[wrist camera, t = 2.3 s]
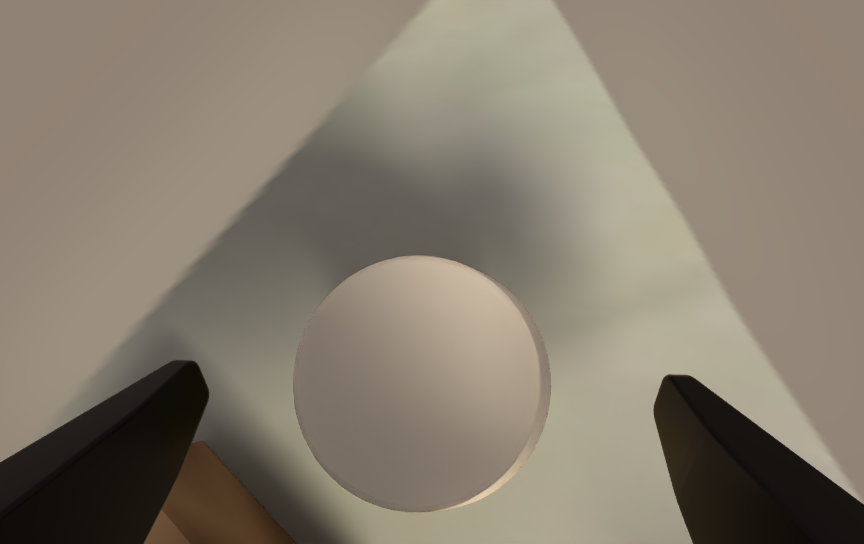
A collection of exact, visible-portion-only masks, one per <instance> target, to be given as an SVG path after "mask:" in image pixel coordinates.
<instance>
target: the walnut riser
mask: <svg viewBox="0 0 864 544" xmlns="http://www.w3.org/2000/svg"><path fill="white" fill-rule="evenodd" d="M144 544H296V543H295V542H294V541H293V540H292V539H291V538H290V537H289V535H288V534H287V533H286V532H285V531H284V530H283V529H282V528H281V527H280V526H279V525H278V523H277V522H276V521H275V520H274V519H273V518H272V517H271V516H270V515H269V514H268V512H267V511H266V510H265V509H264V508H263V507H262V506H261V505H260V504H259V503H258V502H257V500H256V499H255V498H254V497H253V496H252V495H251V494H250V493H249V492H248V491H247V489H246V488H245V487H244V486H243V485H242V484H241V483H240V482H239V481H238V480H237V479H236V477H235V476H234V475H233V474H232V473H231V472H230V471H229V470H228V469H227V468H226V466H225V465H224V464H223V463H222V462H221V461H220V460H219V459H218V458H217V457H216V456H215V454H214V453H213V452H212V451H211V450H210V449H209V448H208V447H207V446H206V445H205V443H204V442H203V441H200V442H196V443H191V446H190V448H189V451H188V453H187V456H186V459H185V461H184V464H183V466H182V468H181V470H180V473H179V475H178V477H177V479H176V481H175V483H174V485H173V487H172V489H171V491H170V493H169V495H168V497H167V499H166V501H165V503H164V505H163V507H162V509H161V511H160V513H159V515H158V517H157V519H156V521H155V523H154V525H153V527H152V529H151V531H150V533H149V534H148V536H147V538H146V540H145V542H144Z"/></svg>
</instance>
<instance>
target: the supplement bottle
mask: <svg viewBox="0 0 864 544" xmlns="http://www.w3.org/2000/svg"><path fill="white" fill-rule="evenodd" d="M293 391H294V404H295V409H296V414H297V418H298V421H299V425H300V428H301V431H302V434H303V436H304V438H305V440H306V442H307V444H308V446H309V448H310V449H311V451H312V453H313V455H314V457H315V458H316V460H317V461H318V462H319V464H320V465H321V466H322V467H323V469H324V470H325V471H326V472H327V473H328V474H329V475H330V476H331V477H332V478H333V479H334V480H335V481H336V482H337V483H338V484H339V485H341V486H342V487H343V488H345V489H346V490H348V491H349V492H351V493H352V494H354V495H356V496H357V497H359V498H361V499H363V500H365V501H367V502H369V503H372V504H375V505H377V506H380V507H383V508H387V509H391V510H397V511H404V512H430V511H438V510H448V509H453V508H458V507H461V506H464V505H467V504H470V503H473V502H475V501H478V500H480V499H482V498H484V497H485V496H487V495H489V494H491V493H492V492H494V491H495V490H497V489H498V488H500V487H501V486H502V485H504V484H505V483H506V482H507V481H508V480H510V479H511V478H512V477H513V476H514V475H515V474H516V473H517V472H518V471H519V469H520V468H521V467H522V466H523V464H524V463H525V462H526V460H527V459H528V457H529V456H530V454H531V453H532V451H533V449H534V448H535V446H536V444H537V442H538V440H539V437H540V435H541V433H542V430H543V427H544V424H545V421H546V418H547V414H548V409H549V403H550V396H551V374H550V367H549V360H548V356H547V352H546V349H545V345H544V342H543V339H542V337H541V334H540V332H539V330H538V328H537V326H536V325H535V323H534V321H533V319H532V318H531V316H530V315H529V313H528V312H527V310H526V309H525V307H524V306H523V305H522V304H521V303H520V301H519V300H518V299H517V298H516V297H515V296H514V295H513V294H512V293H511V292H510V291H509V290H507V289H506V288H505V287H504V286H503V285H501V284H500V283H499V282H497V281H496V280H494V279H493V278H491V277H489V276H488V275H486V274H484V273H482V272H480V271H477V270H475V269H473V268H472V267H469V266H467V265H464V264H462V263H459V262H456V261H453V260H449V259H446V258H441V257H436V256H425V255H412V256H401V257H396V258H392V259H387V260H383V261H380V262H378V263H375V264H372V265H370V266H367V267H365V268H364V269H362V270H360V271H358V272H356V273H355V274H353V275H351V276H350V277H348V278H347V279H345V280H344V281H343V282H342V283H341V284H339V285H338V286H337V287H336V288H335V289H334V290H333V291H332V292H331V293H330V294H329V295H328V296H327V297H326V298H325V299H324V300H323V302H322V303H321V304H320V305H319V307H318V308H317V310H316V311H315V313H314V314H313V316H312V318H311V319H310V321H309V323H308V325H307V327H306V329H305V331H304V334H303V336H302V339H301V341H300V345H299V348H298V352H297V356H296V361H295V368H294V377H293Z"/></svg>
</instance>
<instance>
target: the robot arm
mask: <svg viewBox="0 0 864 544" xmlns="http://www.w3.org/2000/svg"><path fill="white" fill-rule="evenodd" d="M208 399H209V390H208V387H207V384H206V382H205V380H204V377H203V375H202V372H201V370H200V368H199V366H198V364H197V363H196V362H195V361H189V360H175V361H171V362H170V363H168V364H166V365H164V366H163V367H161V368H159V369H158V370H156V371H154V372H153V373H151V374H149V375H147V376H146V377H144V378H142V379H141V380H139V381H137V382H136V383H134V384H132V385H131V386H129V387H127V388H125V389H124V390H122V391H120V392H119V393H117V394H115V395H114V396H112V397H110V398H109V399H107V400H105V401H103V402H102V403H100V404H98V405H97V406H95V407H93V408H92V409H90V410H88V411H87V412H85V413H83V414H81V415H80V416H78V417H76V418H75V419H73V420H71V421H70V422H68V423H66V424H64V425H63V426H61V427H59V428H58V429H56V430H54V431H53V432H51V433H49V434H48V435H46V436H44V437H42V438H41V439H39V440H37V441H36V442H34V443H32V444H31V445H29V446H27V447H26V448H24V449H22V450H20V451H19V452H17V453H15V454H14V455H12V456H10V457H9V458H7V459H5V460H4V461H2V462H0V544H144V542H145V540H146V538H147V536H148V534H149V533H150V531H151V529H152V527H153V525H154V523H155V521H156V519H157V517H158V515H159V513H160V511H161V509H162V507H163V505H164V503H165V501H166V499H167V497H168V495H169V493H170V491H171V489H172V487H173V485H174V483H175V481H176V479H177V477H178V475H179V473H180V470H181V468H182V466H183V464H184V461H185V459H186V456H187V453H188V451H189V448H190V446H191V443H192V441H193V438H194V436H195V433H196V431H197V428H198V426H199V423H200V420H201V418H202V415H203V413H204V410H205V408H206V405H207V403H208ZM654 418H655V422H656V426H657V430H658V434H659V437H660V441H661V445H662V448H663V452H664V456H665V460H666V463H667V467H668V471H669V475H670V478H671V482H672V486H673V489H674V493H675V496H676V499H677V502H678V505H679V508H680V511H681V513H682V516H683V519H684V521H685V524H686V526H687V529H688V532H689V534H690V537H691V539H692V542H693V544H864V504H862V503H861V502H860V501H858V500H857V499H856V498H854V497H853V496H852V495H850V494H849V493H848V492H846V491H845V490H844V489H842V488H841V487H840V486H838V485H837V484H836V483H834V482H833V481H831V480H830V479H829V478H827V477H826V476H825V475H823V474H822V473H821V472H819V471H818V470H817V469H815V468H814V467H813V466H811V465H810V464H809V463H807V462H806V461H805V460H803V459H802V458H801V457H799V456H798V455H797V454H795V453H794V452H793V451H791V450H790V449H789V448H787V447H786V446H785V445H783V444H782V443H781V442H779V441H778V440H777V439H775V438H774V437H773V436H771V435H770V434H769V433H767V432H766V431H765V430H763V429H762V428H761V427H759V426H758V425H757V424H755V423H754V422H753V421H751V420H750V419H749V418H747V417H746V416H744V415H743V414H742V413H740V412H739V411H738V410H736V409H735V408H734V407H732V406H731V405H730V404H728V403H727V402H726V401H724V400H723V399H722V398H720V397H719V396H718V395H716V394H715V393H714V392H712V391H711V390H710V389H708V388H707V387H706V386H704V385H703V384H702V383H700V382H699V381H698V380H696V379H695V378H693V377H692V376H689V375H672V374H670V375H666V376H665V377H664V378H663V380H662V383H661V386H660V389H659V392H658V395H657V398H656V401H655V404H654Z"/></svg>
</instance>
